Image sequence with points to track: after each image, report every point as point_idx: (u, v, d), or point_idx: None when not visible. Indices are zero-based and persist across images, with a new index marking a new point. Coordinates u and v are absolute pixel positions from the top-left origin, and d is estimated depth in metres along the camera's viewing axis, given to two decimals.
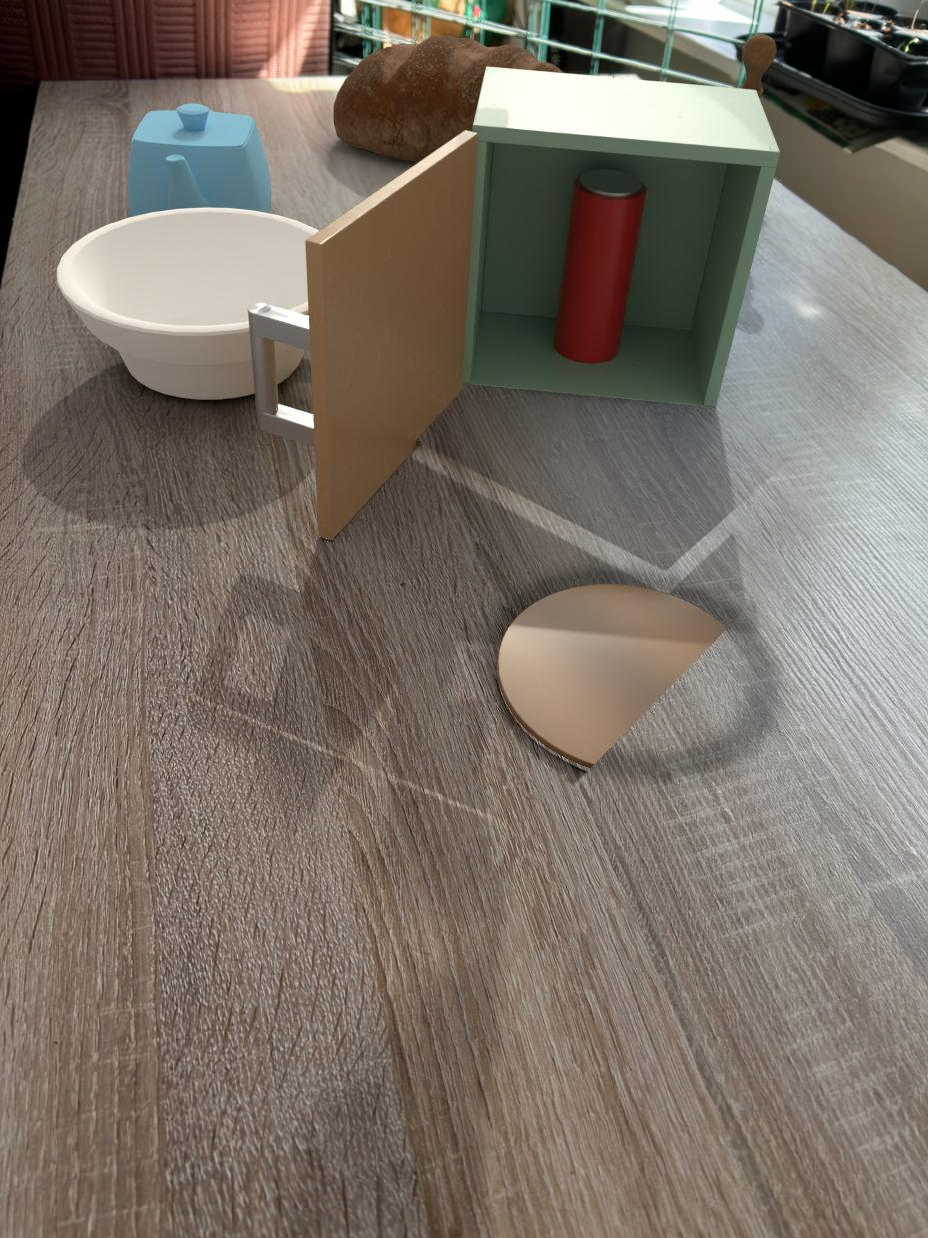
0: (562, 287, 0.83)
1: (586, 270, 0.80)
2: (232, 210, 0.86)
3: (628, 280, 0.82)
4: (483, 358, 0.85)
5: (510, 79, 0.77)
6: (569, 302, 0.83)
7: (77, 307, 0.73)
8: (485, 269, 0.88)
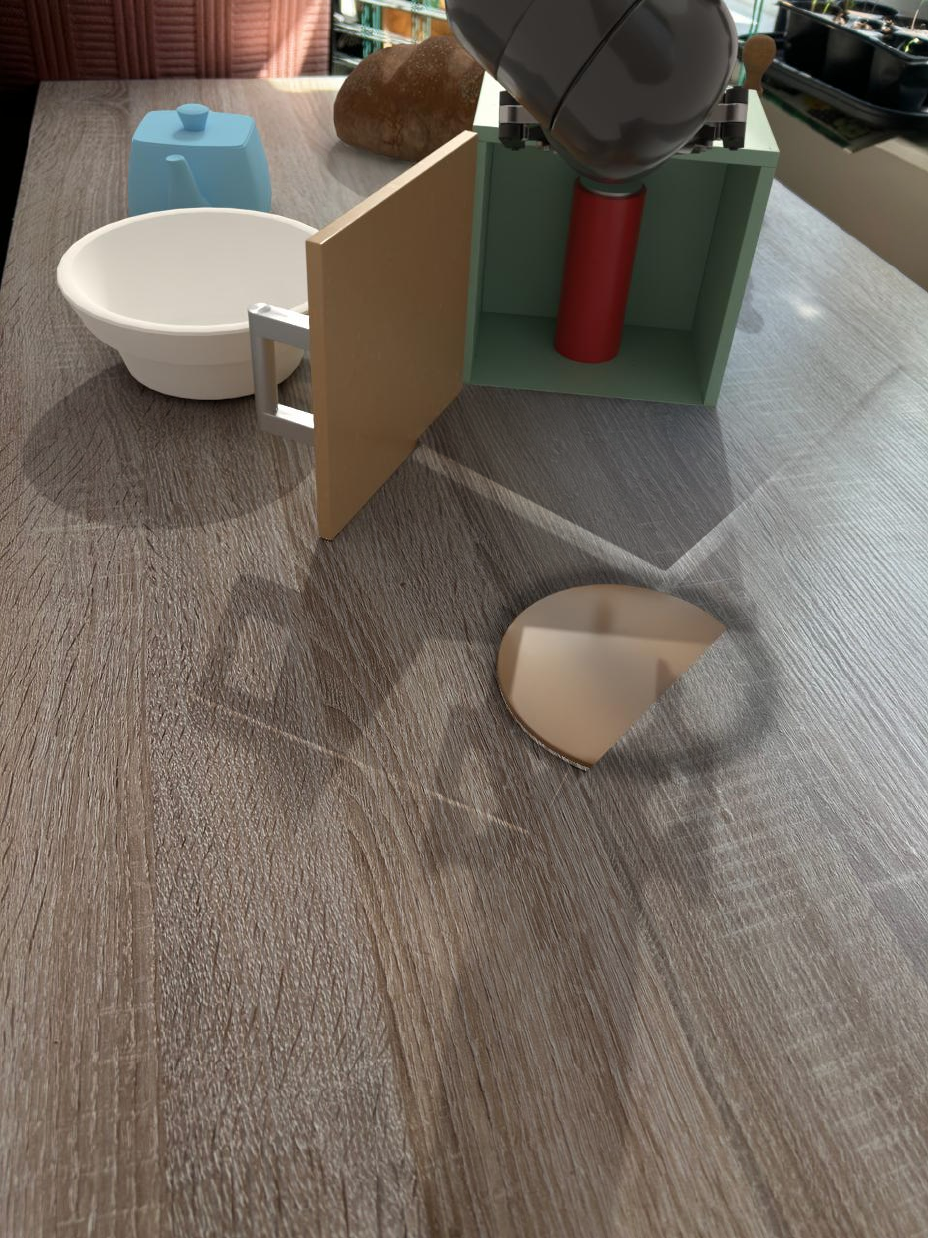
0: (562, 287, 0.83)
1: (586, 270, 0.80)
2: (232, 210, 0.86)
3: (628, 280, 0.82)
4: (483, 358, 0.85)
5: None
6: (569, 302, 0.83)
7: (77, 307, 0.73)
8: (485, 269, 0.88)
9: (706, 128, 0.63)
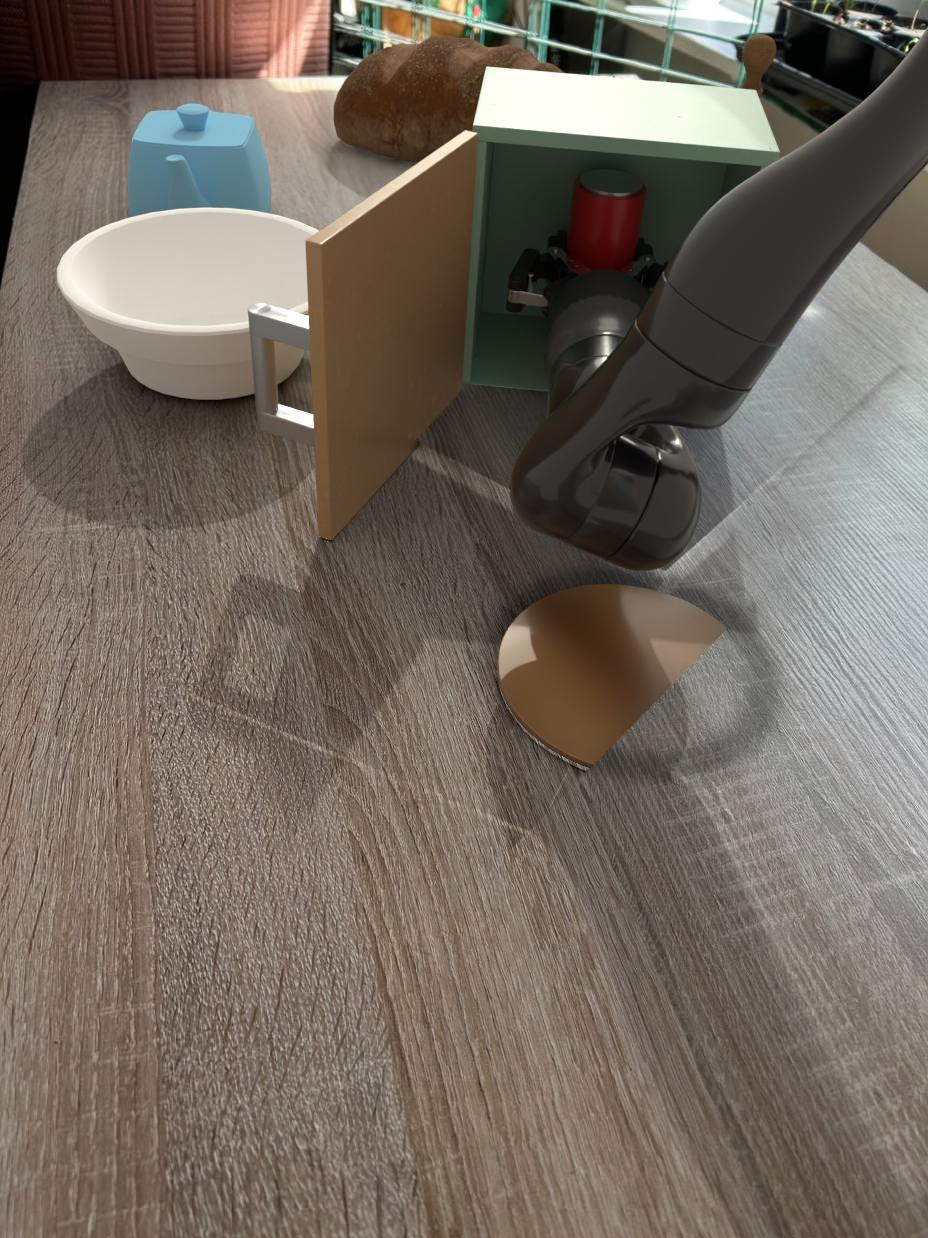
0: None
1: None
2: (232, 210, 0.86)
3: None
4: (483, 358, 0.85)
5: (510, 79, 0.77)
6: None
7: (77, 307, 0.73)
8: (485, 269, 0.88)
9: (648, 279, 0.81)
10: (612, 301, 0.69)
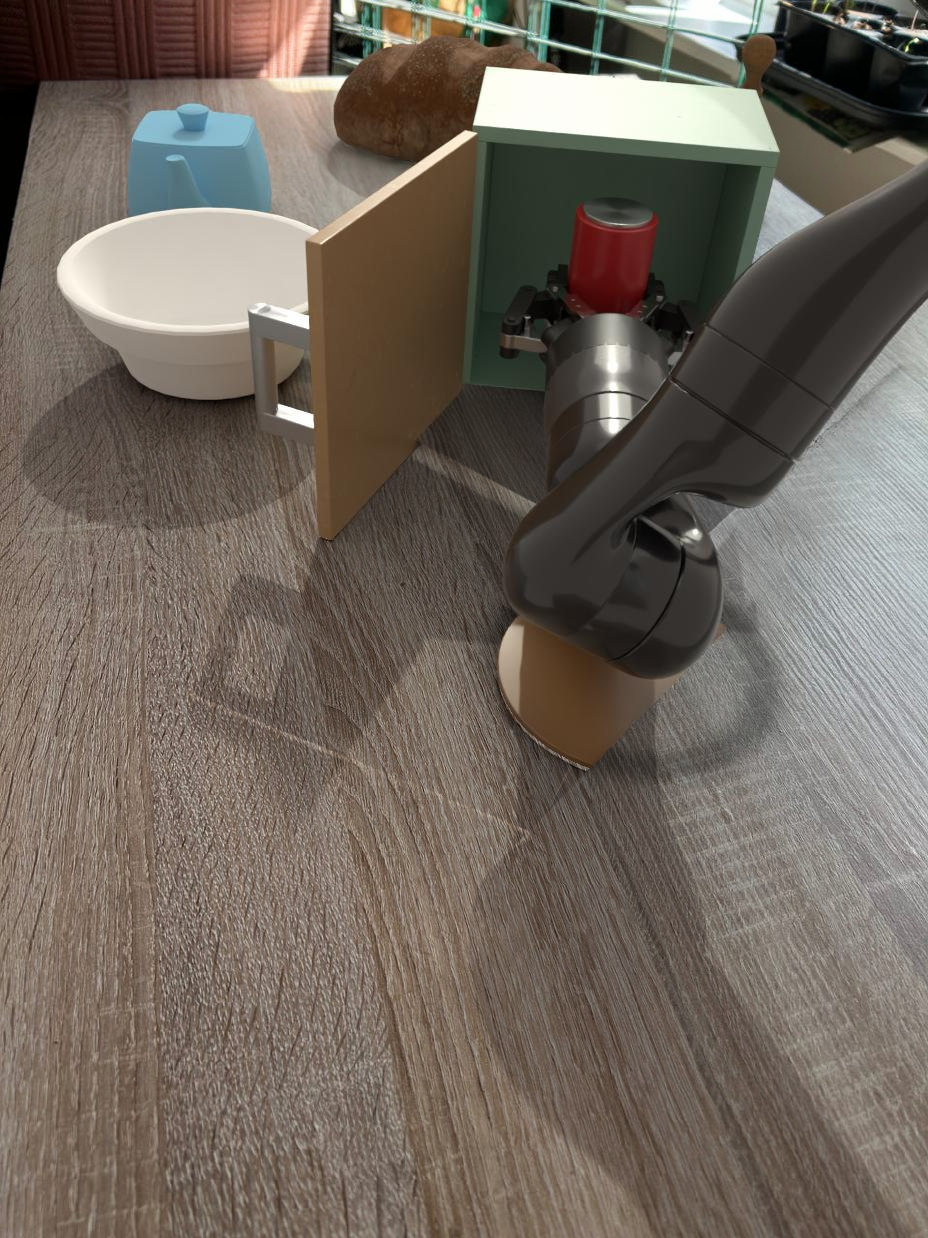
0: None
1: None
2: (232, 210, 0.86)
3: None
4: (483, 358, 0.85)
5: (510, 79, 0.77)
6: None
7: (77, 307, 0.73)
8: (485, 269, 0.88)
9: (660, 320, 0.72)
10: (620, 351, 0.60)
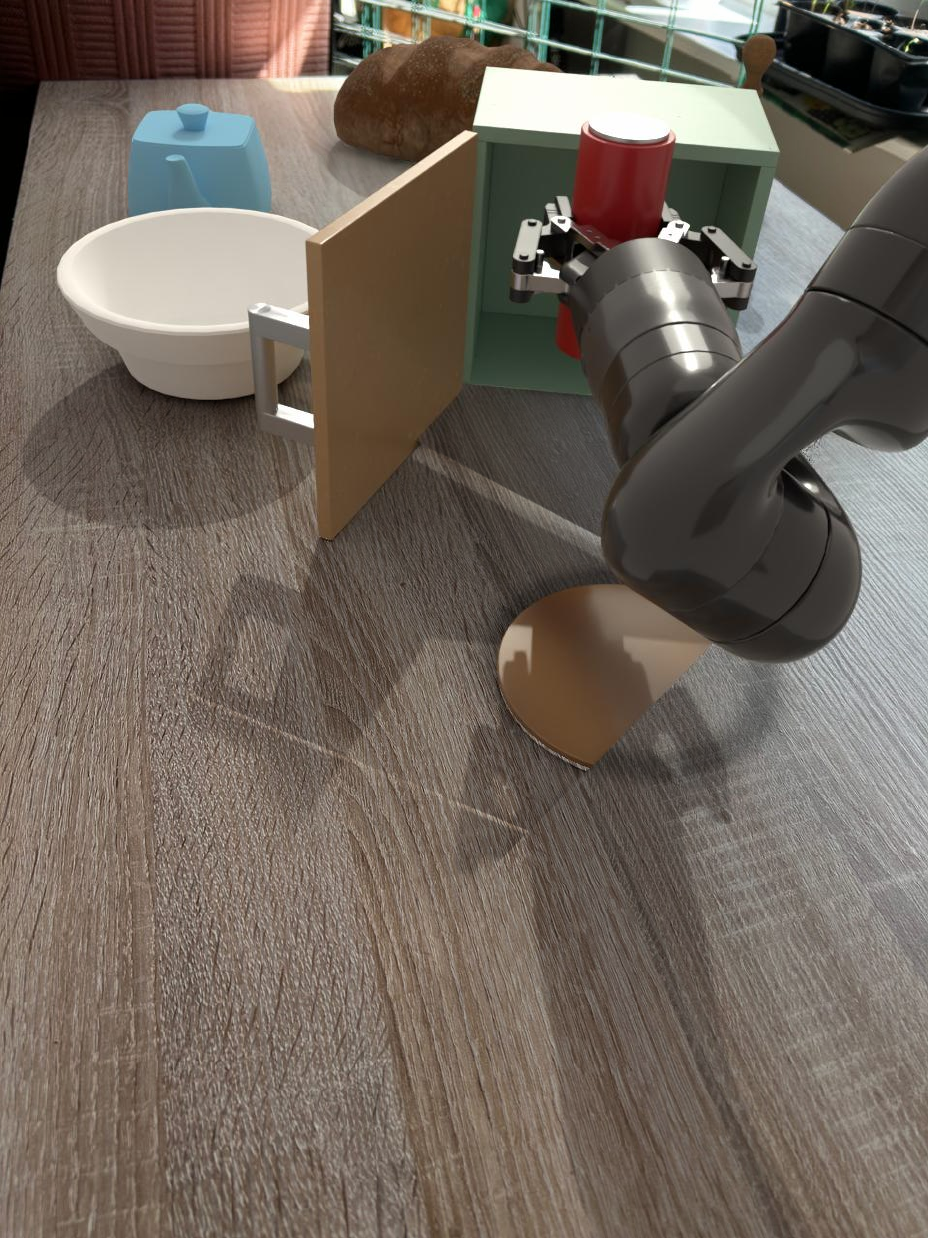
0: None
1: None
2: (232, 210, 0.86)
3: None
4: (483, 358, 0.85)
5: (510, 79, 0.77)
6: None
7: (77, 307, 0.73)
8: (485, 269, 0.88)
9: None
10: (674, 277, 0.51)
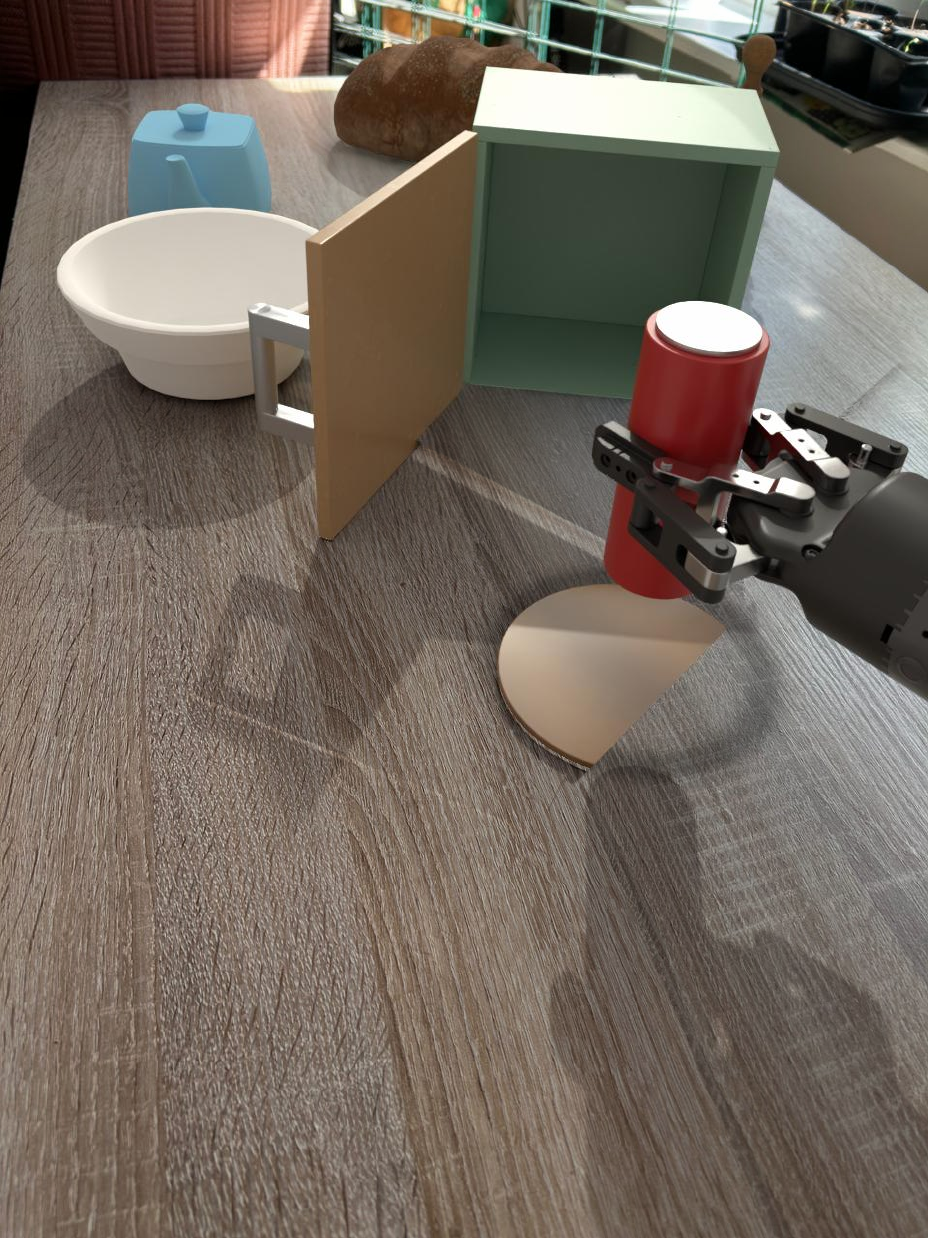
0: None
1: None
2: (232, 210, 0.86)
3: None
4: (483, 358, 0.85)
5: (510, 79, 0.77)
6: None
7: (77, 307, 0.73)
8: (485, 269, 0.88)
9: None
10: None
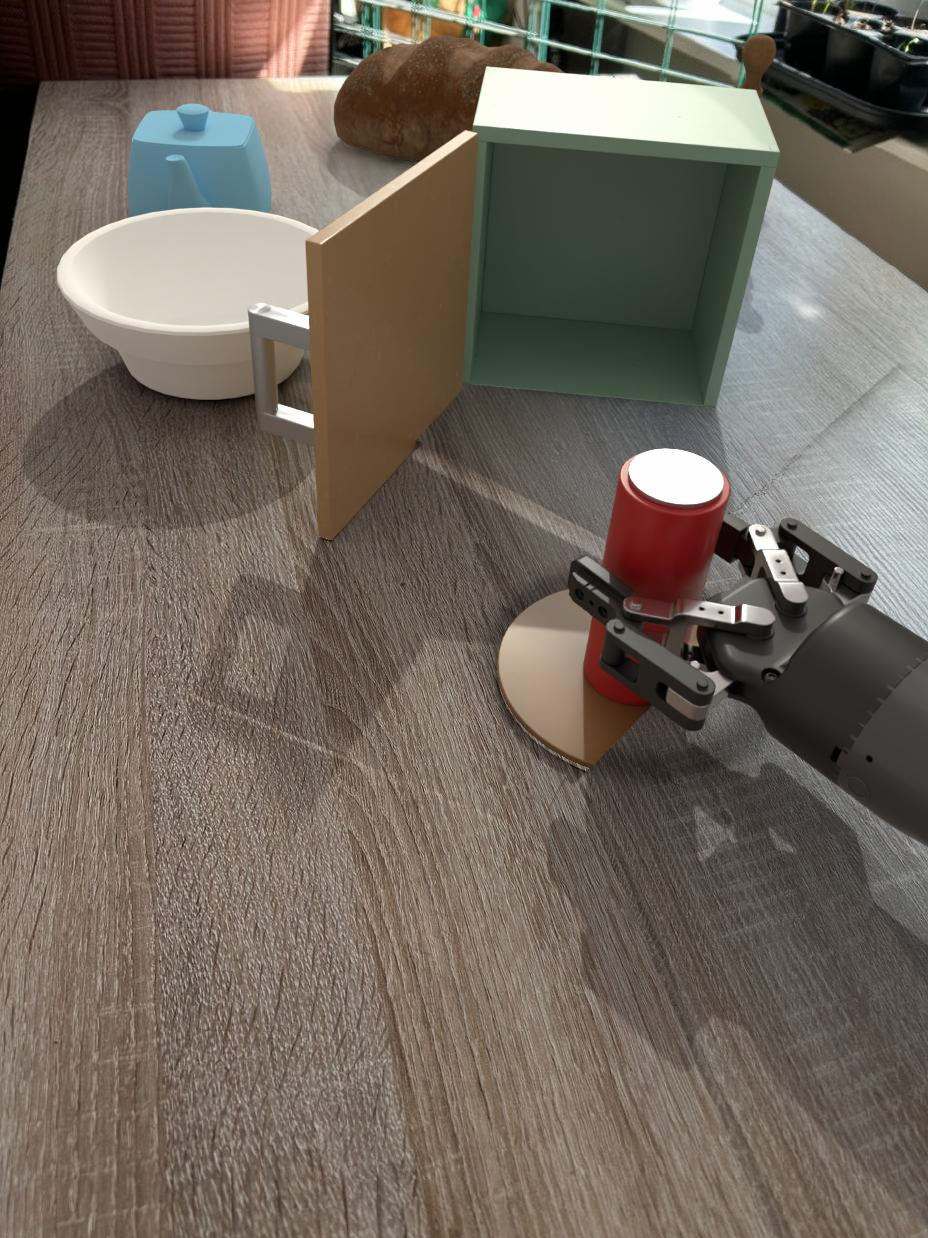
0: None
1: None
2: (232, 210, 0.86)
3: None
4: (483, 358, 0.85)
5: (510, 79, 0.77)
6: None
7: (77, 307, 0.73)
8: (485, 269, 0.88)
9: None
10: None
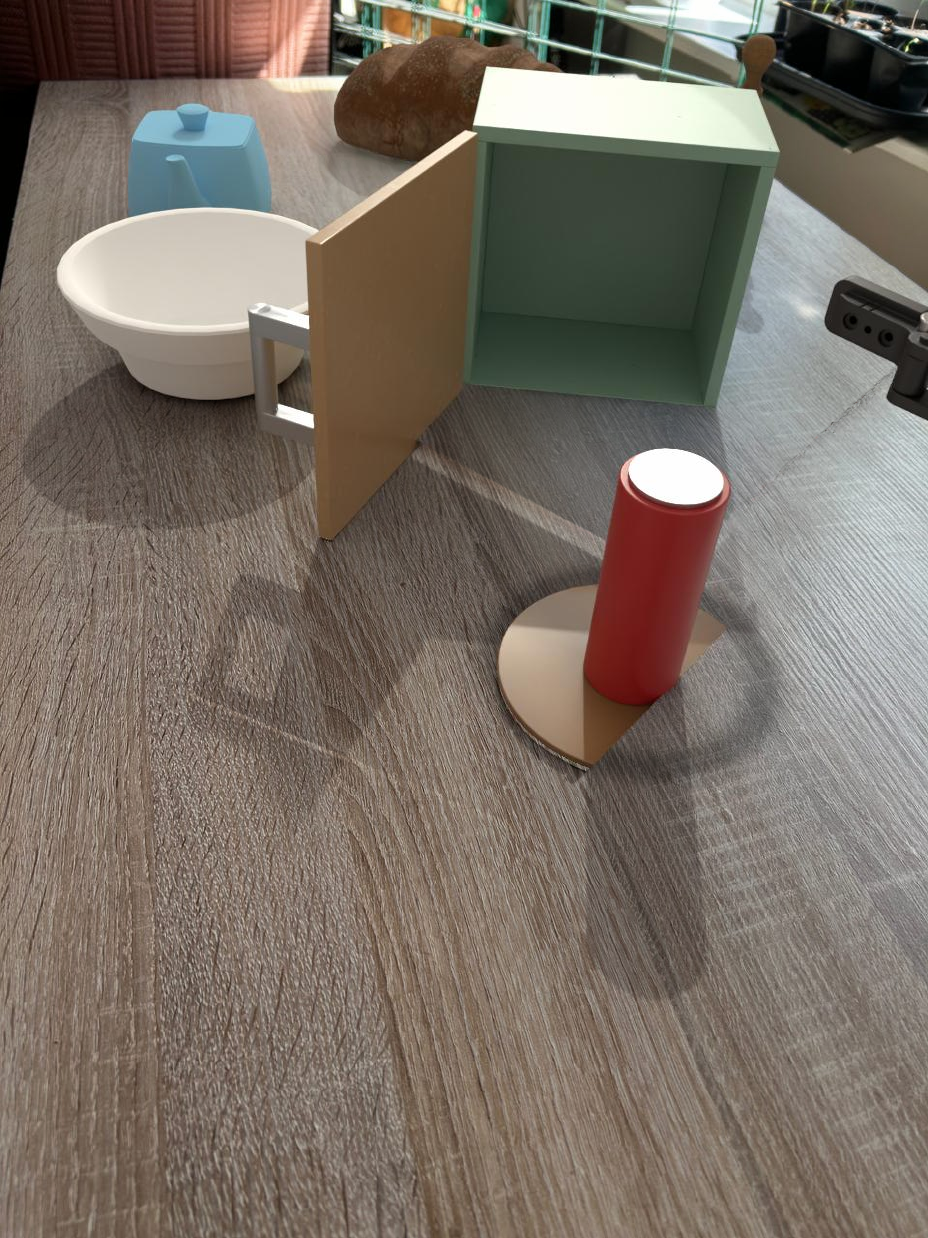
0: (623, 629, 0.55)
1: (677, 602, 0.53)
2: (232, 210, 0.86)
3: None
4: (483, 358, 0.85)
5: (510, 79, 0.77)
6: (646, 645, 0.55)
7: (77, 307, 0.73)
8: (485, 269, 0.88)
9: None
10: None
